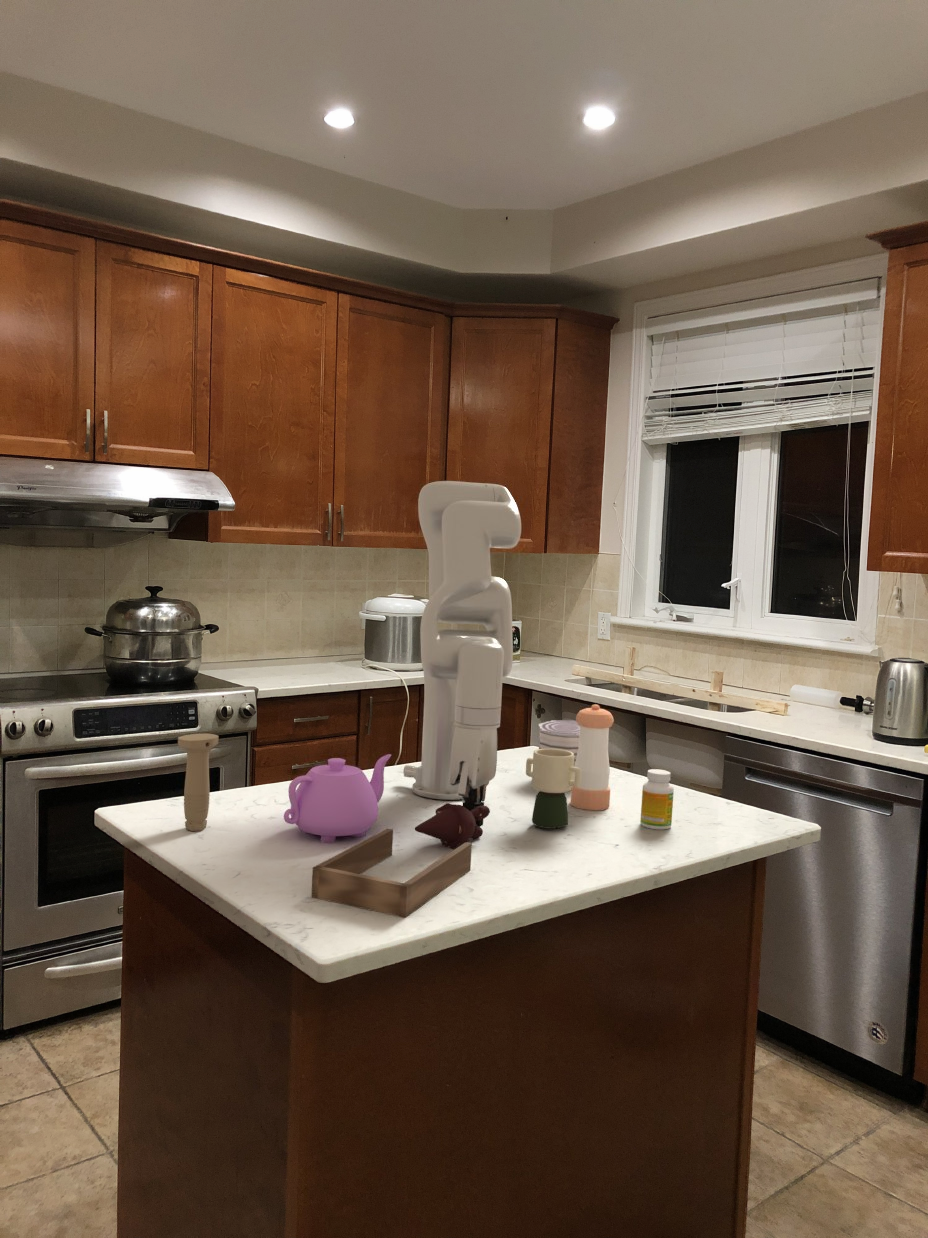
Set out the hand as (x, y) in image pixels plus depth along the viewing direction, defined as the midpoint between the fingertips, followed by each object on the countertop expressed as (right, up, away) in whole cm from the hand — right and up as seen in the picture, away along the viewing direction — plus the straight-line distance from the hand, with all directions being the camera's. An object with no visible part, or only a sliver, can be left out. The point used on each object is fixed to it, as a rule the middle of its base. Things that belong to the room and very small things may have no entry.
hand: (472, 825), depth 159 cm
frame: (-11, -3, -25) cm, 28 cm away
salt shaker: (+22, -1, +22) cm, 31 cm away
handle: (-45, 0, -5) cm, 45 cm away
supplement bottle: (+32, -2, +10) cm, 34 cm away
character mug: (+13, -2, +6) cm, 15 cm away
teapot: (-22, -1, -3) cm, 22 cm away
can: (+19, 0, +40) cm, 44 cm away
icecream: (-3, -2, -7) cm, 8 cm away
